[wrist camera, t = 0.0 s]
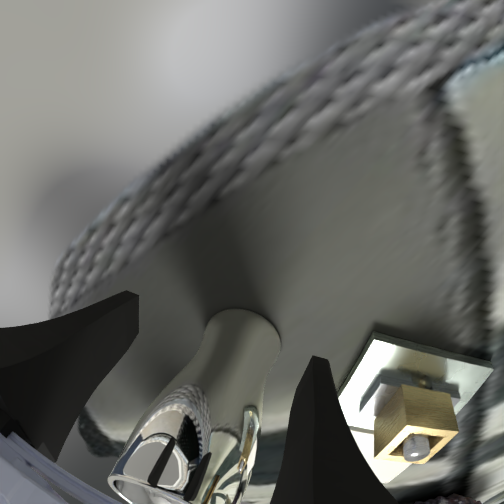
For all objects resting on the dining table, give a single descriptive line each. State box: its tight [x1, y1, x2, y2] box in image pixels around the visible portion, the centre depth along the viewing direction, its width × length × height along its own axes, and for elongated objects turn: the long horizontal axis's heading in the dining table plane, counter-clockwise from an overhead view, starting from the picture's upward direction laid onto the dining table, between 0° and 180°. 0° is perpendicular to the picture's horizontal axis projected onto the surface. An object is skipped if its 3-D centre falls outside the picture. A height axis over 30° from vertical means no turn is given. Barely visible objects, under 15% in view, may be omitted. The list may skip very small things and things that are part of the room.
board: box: [349, 425, 412, 483], centre depth 27 cm, size 10×10×1 cm
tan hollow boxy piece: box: [374, 384, 459, 464], centre depth 20 cm, size 5×5×4 cm
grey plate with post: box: [337, 331, 494, 462], centre depth 20 cm, size 10×12×7 cm
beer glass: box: [108, 309, 281, 504], centre depth 18 cm, size 7×7×15 cm
